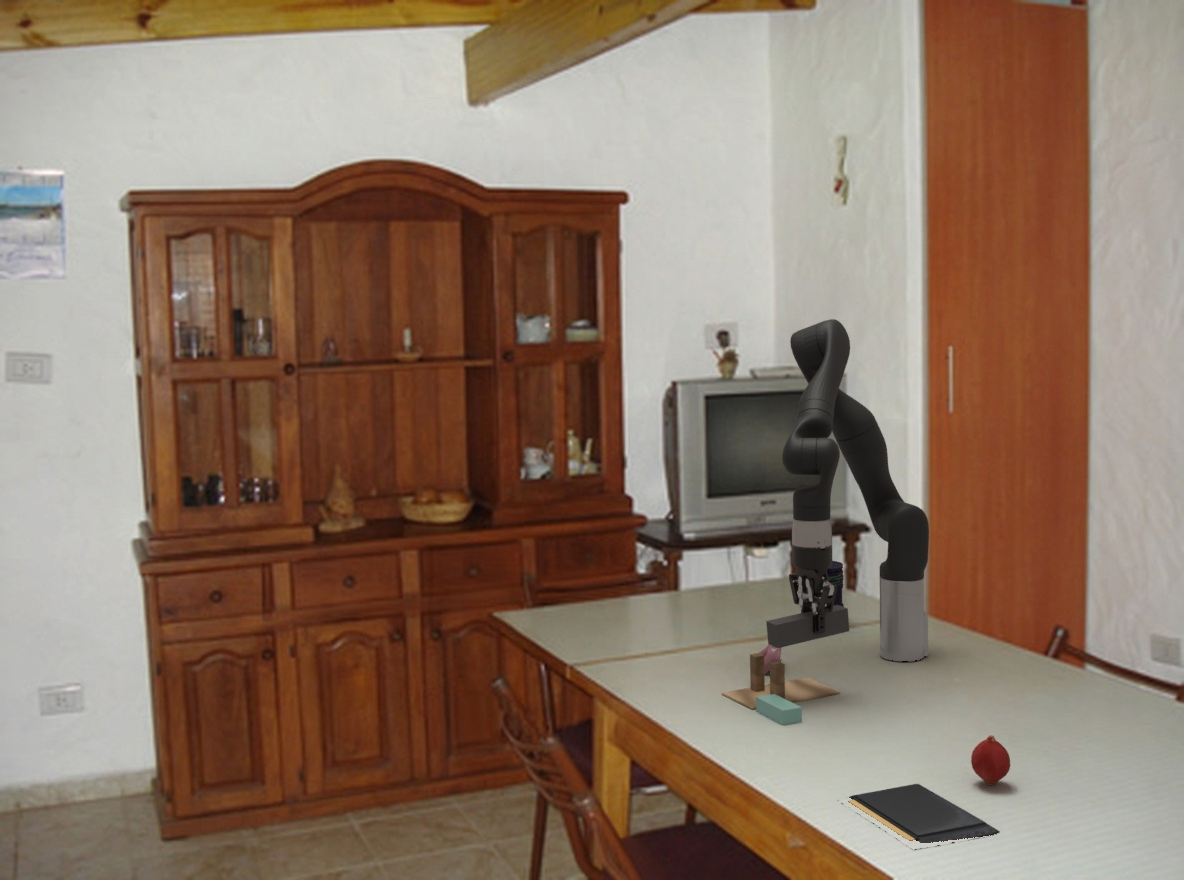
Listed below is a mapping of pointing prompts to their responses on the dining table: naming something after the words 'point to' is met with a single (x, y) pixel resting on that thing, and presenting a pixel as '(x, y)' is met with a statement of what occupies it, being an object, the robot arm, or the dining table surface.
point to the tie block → (779, 709)
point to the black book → (921, 814)
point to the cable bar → (805, 627)
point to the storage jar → (836, 581)
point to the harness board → (790, 692)
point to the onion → (990, 760)
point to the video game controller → (770, 656)
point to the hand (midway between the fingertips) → (813, 630)
